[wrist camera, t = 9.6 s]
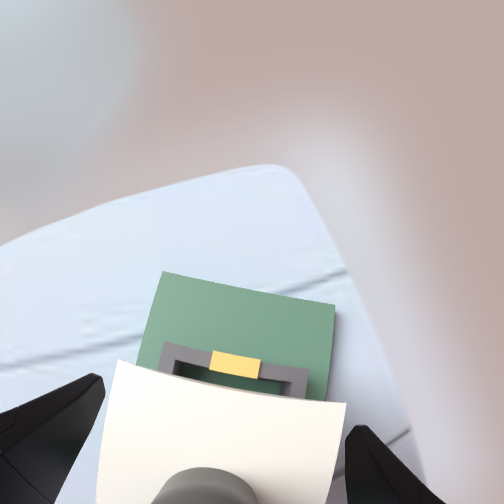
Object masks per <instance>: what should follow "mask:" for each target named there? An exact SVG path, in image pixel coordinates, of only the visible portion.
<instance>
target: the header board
mask: <svg viewBox="0 0 504 504" xmlns="http://www.w3.org/2000/svg"><path fill="white" fill-rule="evenodd" d="M334 317H335V305H332V304H326V303H320V302H314V301H309V300H303V299H297V298H291V297H286V296H280V295H275V294H270V293H264V292H259V291H254V290H249V289H244V288H239V287H234V286H229V285H224V284H219V283H214V282H209V281H205V280H200V279H195V278H191V277H186V276H182V275H177V274H173V273H168V272H164V271H163V272H162V275H161V278H160V281H159V284H158V287H157V291H156V294H155V297H154V300H153V304H152V307H151V310H150V314H149V317H148V321H147V324H146V328H145V332H144V335H143V339H142V343H141V347H140V350H139V354H138V358H137V362H136V365H138V366H142V367H145V368H149V369H152V370H156V371H160V372H164V373H168V374H172V375H177V376H181V377H186V378H190V379H195V380H199V381H203V382H208V383H212V384H217V385H222V386H227V387H232V388H237V389H243V390H249V391H255V392H261V393H267V394H273V395H279V396H286V397H293V398H300V399H308V400H317V401H325V397H326V390H327V383H328V376H329V368H330V359H331V350H332V340H333V329H334Z"/></svg>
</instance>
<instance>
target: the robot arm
mask: <svg viewBox="0 0 504 504" xmlns="http://www.w3.org/2000/svg"><path fill="white" fill-rule="evenodd" d="M104 397H105V387H104V383H103V378H102V377H101V376H99V375H97V374H94V373H90V374H88V375H86V376H84V377H81V378H79V379H77V380H75V381H73V382H71V383H69V384H67V385H64V386H62V387H60V388H58V389H56V390H54V391H51V392H49V393H47V394H45V395H43V396H40V397H38V398H36V399H34V400H31V401H29V402H27V403H25V404H22V405H20V406H18V407H15V408H13V409H11V410H8V411H5V412H3V413H0V504H54V503H55V500H56V498H57V496H58V494H59V492H60V490H61V488H62V486H63V484H64V482H65V480H66V478H67V476H68V474H69V472H70V470H71V468H72V466H73V464H74V462H75V460H76V458H77V456H78V454H79V452H80V450H81V448H82V446H83V444H84V443H85V441H86V439H87V437H88V435H89V433H90V431H91V429H92V427H93V425H94V422H95V420H96V417H97V415H98V412H99V410H100V407H101V405H102V402H103V400H104ZM345 482H346V491H347V501H348V504H446V503H444V502H443V501H442V500H441V499H439V498H438V497H437V496H436V495H435V494H433V493H432V492H431V491H430V490H429V489H428V488H427V487H426V486H425V485H424V484H423V483H421V481H420V480H419V479H418V478H417V477H416V476H415V475H414V474H413V473H412V472H411V471H410V470H409V469H408V468H407V467H406V466H405V465H404V464H403V463H402V462H401V461H400V460H399V459H398V458H397V457H396V456H395V455H394V454H393V453H392V451H391V450H390V449H389V448H388V447H387V446H386V445H385V444H384V443H383V442H382V441H381V440H380V439H379V438H378V437H377V436H376V435H375V434H374V432H373V431H372V430H371V429H370V428H369V427H368V426H366V425H356V426H354V428H353V429H352V430H351V432H350V433H349V435H348V436H347V437H346V440H345Z"/></svg>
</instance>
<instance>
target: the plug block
mask: <svg viewBox="0 0 504 504" xmlns="http://www.w3.org/2000/svg"><path fill="white" fill-rule="evenodd" d="M345 410H346V403H339V402H327V401H317V400H308V399H300V398H293V397H286V396H279V395H273V394H267V393H261V392H255V391H249V390H243V389H237V388H232V387H227V386H222V385H217V384H212V383H208V382H203V381H199V380H195V379H190V378H186V377H181V376H177V375H172V374H168V373H164V372H160V371H156V370H152V369H149V368H145V367H142V366H138V365H135V364H131V363H128V362H125V361H121V360H118V362H117V366H116V370H115V375H114V379H113V383H112V388H111V393H110V398H109V402H108V408H107V413H106V418H105V424H104V430H103V436H102V443H101V450H100V458H99V467H98V476H97V488H96V504H325V503H326V499H327V496H328V492H329V488H330V485H331V481H332V476H333V472H334V468H335V464H336V459H337V454H338V449H339V444H340V439H341V434H342V428H343V422H344V416H345Z"/></svg>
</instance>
